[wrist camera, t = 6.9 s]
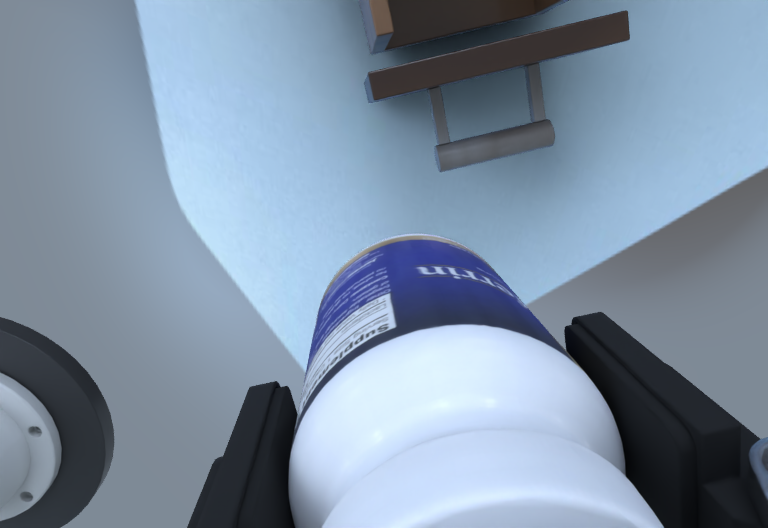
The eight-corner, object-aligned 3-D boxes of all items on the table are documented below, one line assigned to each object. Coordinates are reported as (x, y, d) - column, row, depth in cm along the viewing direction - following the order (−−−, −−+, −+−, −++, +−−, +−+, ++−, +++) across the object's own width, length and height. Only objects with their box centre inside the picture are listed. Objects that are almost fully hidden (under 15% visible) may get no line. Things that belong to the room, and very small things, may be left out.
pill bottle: (543, 302, 15) (861, 622, 6) (425, 432, 16) (525, 883, 7) (395, 187, 14) (485, 355, 4) (278, 338, 15) (147, 730, 6)
